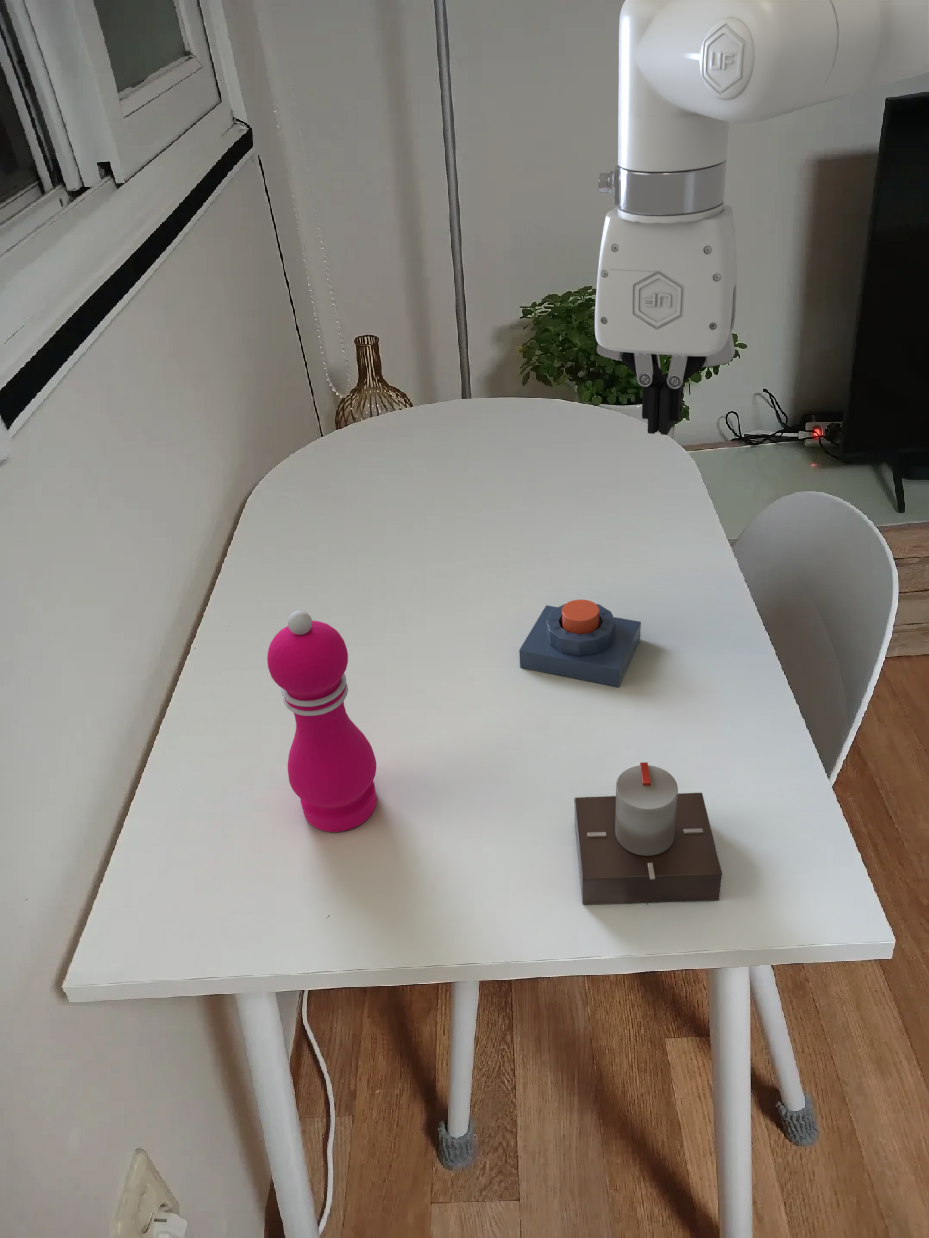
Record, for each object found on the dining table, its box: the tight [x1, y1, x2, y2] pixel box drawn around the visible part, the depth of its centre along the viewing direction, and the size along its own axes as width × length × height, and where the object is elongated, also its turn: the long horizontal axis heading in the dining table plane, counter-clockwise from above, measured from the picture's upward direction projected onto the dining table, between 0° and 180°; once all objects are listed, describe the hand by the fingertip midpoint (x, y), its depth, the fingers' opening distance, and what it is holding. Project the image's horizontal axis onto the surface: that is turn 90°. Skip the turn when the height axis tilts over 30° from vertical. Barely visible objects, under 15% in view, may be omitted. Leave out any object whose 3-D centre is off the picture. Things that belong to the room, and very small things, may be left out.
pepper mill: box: [266, 610, 378, 833], centre depth 75 cm, size 7×7×20 cm
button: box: [562, 599, 599, 634], centre depth 92 cm, size 4×4×2 cm
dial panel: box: [573, 792, 723, 906], centre depth 73 cm, size 10×9×3 cm
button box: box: [518, 603, 642, 688], centre depth 94 cm, size 10×8×4 cm
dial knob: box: [615, 761, 679, 856], centre depth 70 cm, size 4×4×5 cm
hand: (661, 427), depth 79 cm, fingers closed
